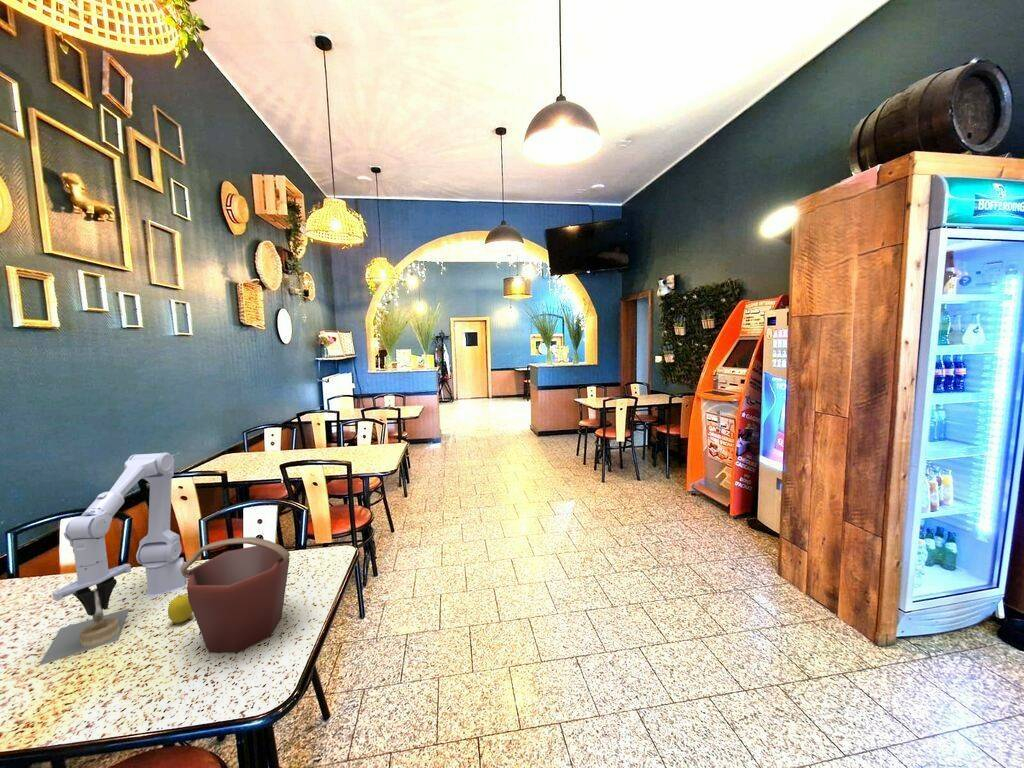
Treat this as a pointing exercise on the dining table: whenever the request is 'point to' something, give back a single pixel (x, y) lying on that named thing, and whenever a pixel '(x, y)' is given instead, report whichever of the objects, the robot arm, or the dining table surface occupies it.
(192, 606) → the bucket
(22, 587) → the dining table surface
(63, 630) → the mat
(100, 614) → the steel peg
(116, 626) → the maple bead
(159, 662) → the dining table surface
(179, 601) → the lemon
